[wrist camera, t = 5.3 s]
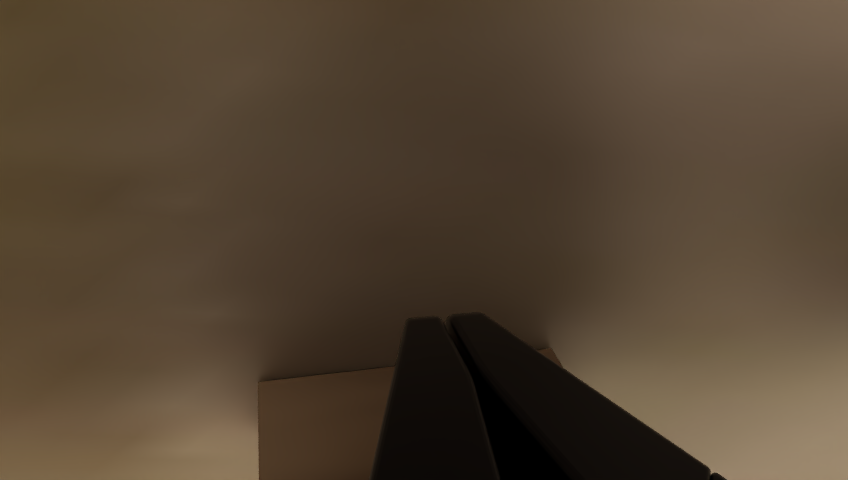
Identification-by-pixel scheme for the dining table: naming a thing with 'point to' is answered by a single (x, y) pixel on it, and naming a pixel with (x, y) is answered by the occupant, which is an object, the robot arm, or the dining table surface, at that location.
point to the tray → (324, 424)
